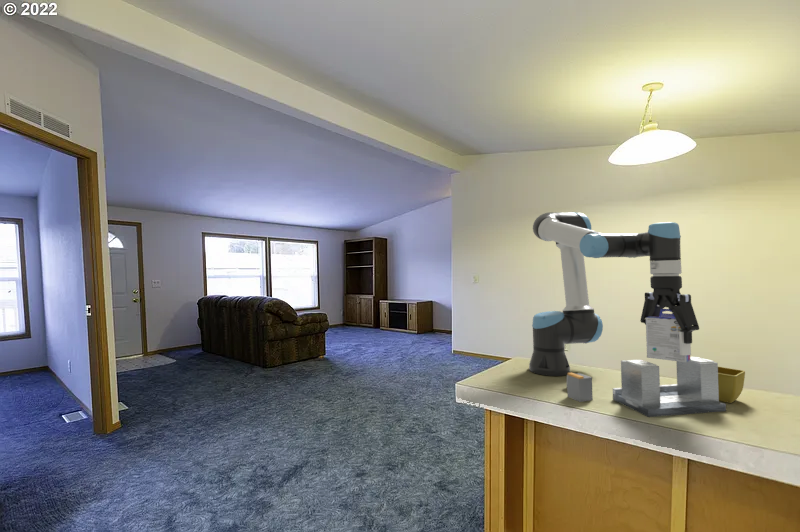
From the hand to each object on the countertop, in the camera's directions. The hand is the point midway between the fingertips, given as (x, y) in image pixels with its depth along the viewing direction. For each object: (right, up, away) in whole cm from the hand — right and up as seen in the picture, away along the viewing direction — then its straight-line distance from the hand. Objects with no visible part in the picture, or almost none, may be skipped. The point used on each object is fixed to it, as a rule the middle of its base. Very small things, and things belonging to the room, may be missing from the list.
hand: (668, 350), depth 109 cm
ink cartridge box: (0, -3, 0) cm, 3 cm away
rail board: (0, -16, +1) cm, 16 cm away
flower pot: (+20, -16, +4) cm, 26 cm away
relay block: (-22, -17, +8) cm, 29 cm away
